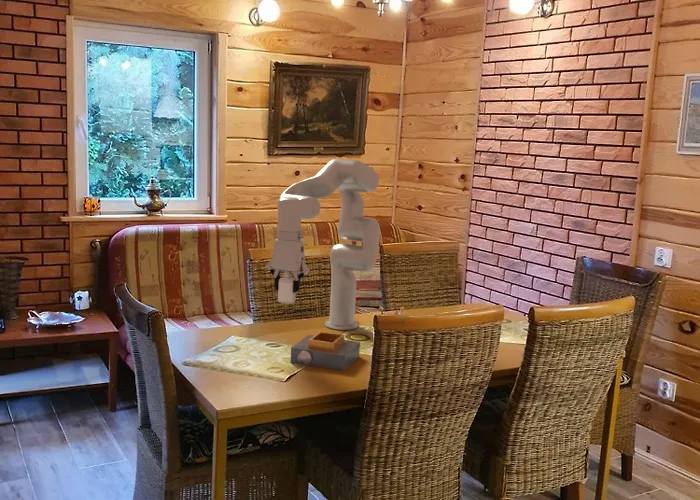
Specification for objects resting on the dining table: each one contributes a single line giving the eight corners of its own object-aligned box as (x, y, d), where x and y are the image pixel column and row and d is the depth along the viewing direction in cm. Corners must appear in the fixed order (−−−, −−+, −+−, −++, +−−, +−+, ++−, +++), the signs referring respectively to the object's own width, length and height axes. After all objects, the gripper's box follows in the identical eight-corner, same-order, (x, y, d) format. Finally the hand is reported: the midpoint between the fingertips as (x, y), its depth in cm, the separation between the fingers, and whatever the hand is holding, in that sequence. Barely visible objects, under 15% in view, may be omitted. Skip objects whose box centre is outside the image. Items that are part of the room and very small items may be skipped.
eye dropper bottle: (286, 305, 233) (287, 268, 231) (275, 301, 237) (277, 265, 235) (296, 303, 236) (298, 267, 234) (286, 299, 240) (287, 264, 238)
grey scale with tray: (309, 348, 246) (310, 326, 244) (360, 355, 240) (361, 333, 239) (289, 363, 228) (290, 340, 227) (343, 372, 223) (344, 348, 222)
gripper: (317, 237, 234) (315, 291, 237) (269, 232, 239) (267, 285, 242) (309, 240, 227) (306, 296, 230) (259, 234, 232) (258, 289, 235)
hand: (286, 290), depth 236 cm, fingers closed on eye dropper bottle, 5 cm apart
